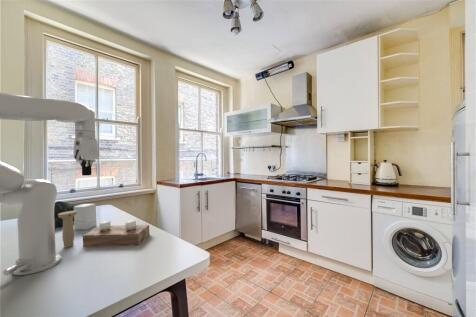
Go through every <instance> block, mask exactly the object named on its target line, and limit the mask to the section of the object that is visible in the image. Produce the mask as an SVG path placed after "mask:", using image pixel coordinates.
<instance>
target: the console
mask: <svg viewBox="0 0 476 317" xmlns="http://www.w3.org/2000/svg"><path fill="white" fill-rule="evenodd" d="M148 235H149V236H150V224H136V228H135V229H133V230H130V231H129V230H126V227H125V225H124V224H122V225H119V224H118V225H111V228H110V229H108V230H107V231H103V230H99V226H98V227H96V228H94V229H92V230H90V231H89V232H87V233H84V234H82V247H83V248H84V247H86V248H87V247H89V248H90V247H91V248H92V247H121V246H122V247H129V246H128V245H134V246H139V245H140V244H141V243H142V242H144V240H146V239H147V238H148V237H149V236H148Z"/></svg>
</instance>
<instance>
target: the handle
mask: <svg viewBox="0 0 476 317" xmlns="http://www.w3.org/2000/svg"><path fill="white" fill-rule="evenodd" d="M76 214H77V211H67V212H63V213H59V214H58V217H59V218H62V219H63V225H62V232H61V233H62V241H63V247H64V248H70V247H73V245H74V240H75V226H74V222H73V216H75V215H76Z"/></svg>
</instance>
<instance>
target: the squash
mask: <svg viewBox="0 0 476 317" xmlns="http://www.w3.org/2000/svg"><path fill="white" fill-rule="evenodd" d="M75 206H76V205H73V204H71V203H68V202H65V201H62V200H61V201H60V200H59V201H55V207H54V221H55V228H56V227H58V228H59V227H63V219H62V218H59V217H58V214H59V213H63V212H67V211H74V207H75ZM73 223H74V216H73Z"/></svg>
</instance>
